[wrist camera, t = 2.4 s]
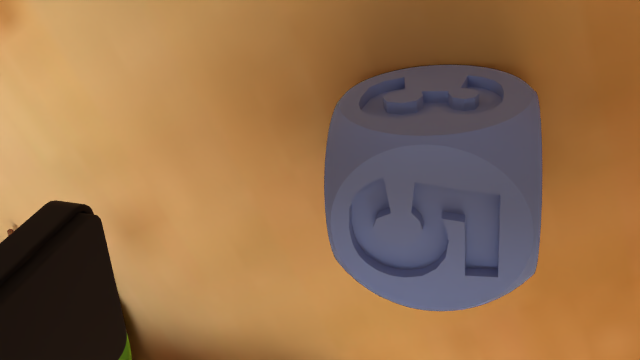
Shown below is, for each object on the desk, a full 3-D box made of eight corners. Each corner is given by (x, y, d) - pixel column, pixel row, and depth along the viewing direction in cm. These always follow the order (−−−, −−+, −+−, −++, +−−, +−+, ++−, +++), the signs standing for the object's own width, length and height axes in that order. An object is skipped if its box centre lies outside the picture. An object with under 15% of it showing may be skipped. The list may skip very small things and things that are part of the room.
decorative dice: (523, 212, 15) (534, 322, 11) (368, 208, 16) (337, 307, 12) (531, 59, 13) (547, 137, 9) (354, 66, 14) (312, 139, 11)
